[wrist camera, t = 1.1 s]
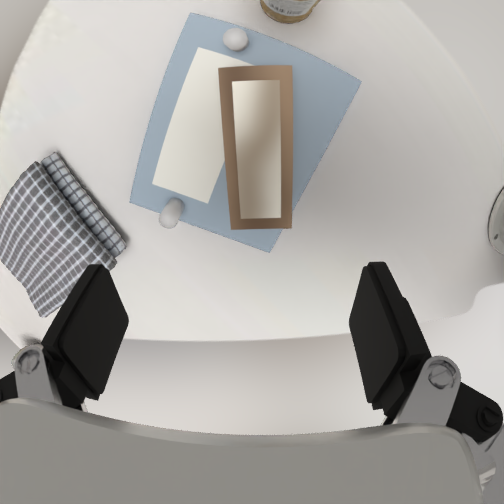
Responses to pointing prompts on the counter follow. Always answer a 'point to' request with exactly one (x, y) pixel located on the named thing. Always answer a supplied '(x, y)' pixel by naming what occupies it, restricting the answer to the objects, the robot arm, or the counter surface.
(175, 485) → the robot arm
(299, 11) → the pill bottle
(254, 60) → the panel
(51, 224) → the towel
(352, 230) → the counter surface
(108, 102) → the counter surface
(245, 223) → the frame
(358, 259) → the counter surface
